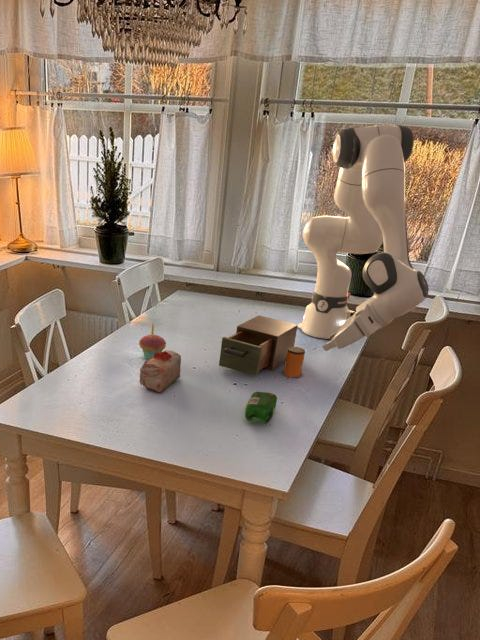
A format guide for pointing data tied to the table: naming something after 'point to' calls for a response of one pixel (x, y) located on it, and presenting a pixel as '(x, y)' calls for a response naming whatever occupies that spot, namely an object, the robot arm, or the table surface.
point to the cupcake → (152, 344)
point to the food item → (160, 370)
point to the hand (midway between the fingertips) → (327, 343)
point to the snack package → (260, 407)
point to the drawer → (246, 352)
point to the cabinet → (273, 336)
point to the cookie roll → (294, 361)
